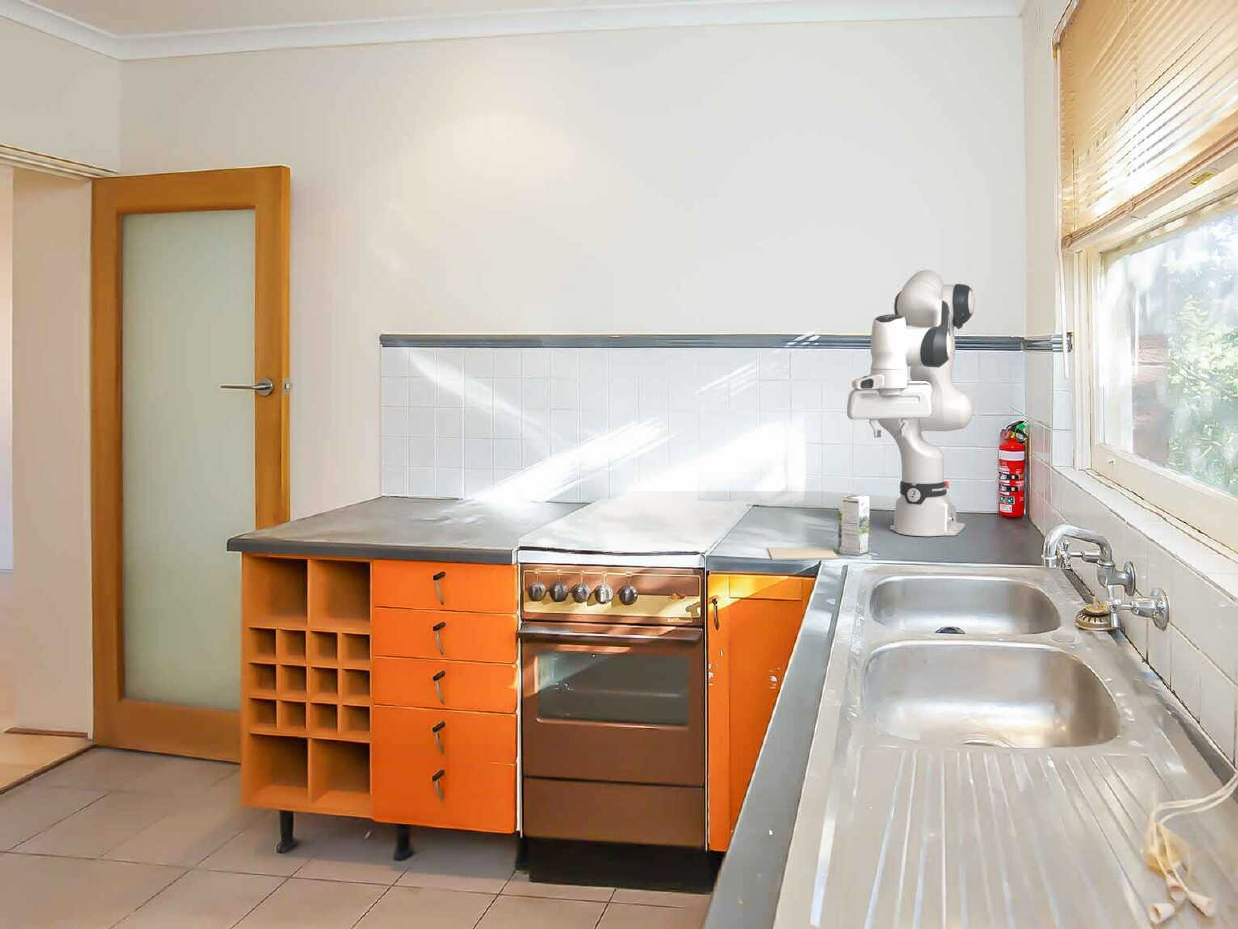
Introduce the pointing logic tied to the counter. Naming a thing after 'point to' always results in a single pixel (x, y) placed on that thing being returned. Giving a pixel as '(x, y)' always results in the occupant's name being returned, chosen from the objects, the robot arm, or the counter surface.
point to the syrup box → (853, 525)
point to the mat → (801, 553)
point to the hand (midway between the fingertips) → (888, 437)
